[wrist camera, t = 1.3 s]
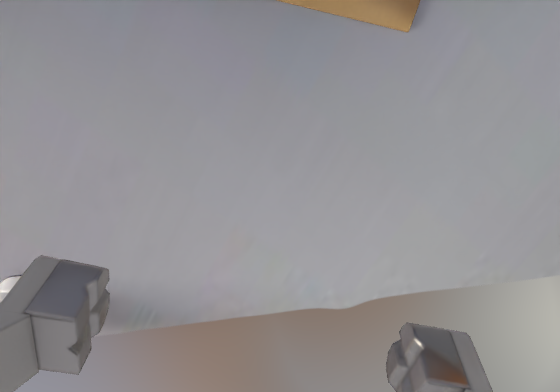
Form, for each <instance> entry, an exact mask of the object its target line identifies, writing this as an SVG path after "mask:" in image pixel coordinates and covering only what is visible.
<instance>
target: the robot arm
mask: <svg viewBox="0 0 560 392" xmlns="http://www.w3.org/2000/svg"><path fill="white" fill-rule="evenodd" d="M108 282H109V270H108V269H107V268H103V267H98V266H93V265H89V264H84V263H79V262H74V261H69V260H63V259H58V258H53V257H48V256H43V255H41V256H39V257H38V258H36V259H35V260H34V261H33V262H32V263H31V265H30V266H29V267H28V268H27V270H26V271H25V272H24V274H23V275H22V276H21V277H20V279H19V280H18V281H17V282H16V284H15V285H14V286H13V288H12V289H11V290H10V291H9V293H8V294H7V295H6V296H5V298H4V299H3V300H2V302H1V303H0V392H13V391H15V390H16V389H17V388H18V387H20V386H21V385H23V384H24V383H25V382H27V381H28V380H29V379H30V378H32V377H33V376H34V375H36V374H37V373H38V372H39V370H46V371H53V372H61V373H68V374H76V375H79V373H80V371H81V369H82V367H83V365H84V363H85V361H86V359H87V357H88V355H89V353H90V351H91V338H92V337H94V336H95V335H97V334H98V333H99V332H100V330H101V328H102V326H103V324H104V321H105V318H106V315H107V312H108V307H109V301H110V293H109V292H108V291H107V290H106V289H105V288H106V286H107V284H108ZM399 333H400V337H401V339H400V340H399V341H397V342H395V343H393V344H392V346H391V348H390V350H389V352H388V357H387V362H386V371H387V378H388V382H389V383H390V385H391V386H392V387H393V388H394V390H395V391H396V392H493V390H492V388H491V386H490V383H489V381H488V378H487V376H486V374H485V371H484V369H483V366H482V364H481V362H480V359H479V357H478V354H477V352H476V350H475V347H474V345H473V342H472V340H471V338H470V336H469V335H468V334H467V333H465V332H459V331H454V330H448V329H443V328H437V327H431V326H425V325H419V324H413V323H406V324H405V325H403V326H402V328H401V330H400V331H399Z"/></svg>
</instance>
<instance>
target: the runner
mask: <svg viewBox="0 0 560 392" xmlns="http://www.w3.org/2000/svg"><path fill="white" fill-rule="evenodd" d="M277 1H281V2H286V3H290V4H294V5H298V6H302V7H306V8H310V9H314V10H318V11H322V12H326V13H331V14H335V15H339V16H343V17H347V18H351V19H355V20H359V21H363V22H367V23H372V24H376V25H380V26H384V27H388V28H392V29H396V30H400V31H404V32H409V30H410V27H411V24H412V22H413V19H414V16H415V14H416V11H417V8H418V5H419V3H420V0H277Z"/></svg>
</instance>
